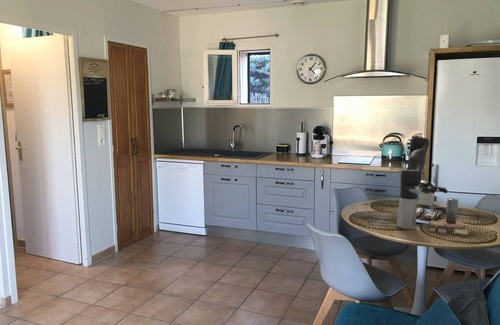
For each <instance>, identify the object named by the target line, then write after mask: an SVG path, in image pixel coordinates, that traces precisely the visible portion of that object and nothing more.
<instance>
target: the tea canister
mask: <svg viewBox="0 0 500 325" xmlns="http://www.w3.org/2000/svg"><path fill="white" fill-rule="evenodd" d="M458 206H459V199H458V198H452V197H451V198H447V202H446V214H445V219H446V223H449V224H456V221H457V218H458V217H457V216H458Z"/></svg>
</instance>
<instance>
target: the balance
mask: <svg viewBox="0 0 500 325" xmlns="http://www.w3.org/2000/svg"><path fill="white" fill-rule="evenodd" d="M443 224H444V222H439V221H437V220H430V224H429V225H431V226H434V227H430V228H429V230H428V231H429V233H433V234H441V235H446V236H447V235H448V236H453V237H454V236H455V237H462V238H468V237H469V236H468V234H469V232H468V230H465V229H460V228H449V227H445V226H443ZM439 227H440V228H439Z"/></svg>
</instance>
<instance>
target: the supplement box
mask: <svg viewBox="0 0 500 325" xmlns="http://www.w3.org/2000/svg"><path fill="white" fill-rule="evenodd" d="M431 183H432V184H433V186H436V183H435V182H431ZM418 196H419V197H418V205H421V206H430V207H433V206H434V204H435V193H430V194H426V193H423V192H420V191H419V195H418Z"/></svg>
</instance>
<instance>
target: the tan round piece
mask: <svg viewBox="0 0 500 325" xmlns="http://www.w3.org/2000/svg"><path fill="white" fill-rule="evenodd" d="M438 221H439V222H444V224H443V226H445V227H449V228H450V229H463V228H465V223H464V222H462V221H459V220H456V224H449V223H446V218H445V219H443V218H442V219H439V220H438Z"/></svg>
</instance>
